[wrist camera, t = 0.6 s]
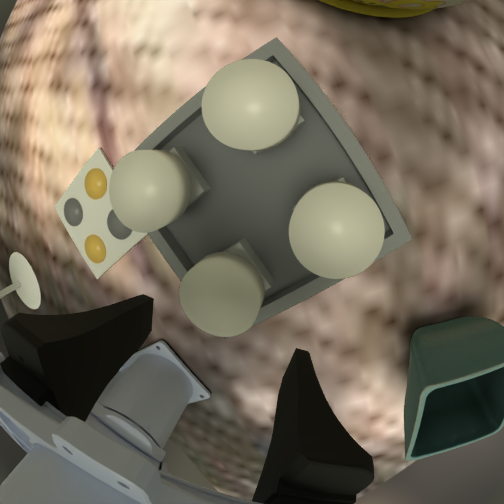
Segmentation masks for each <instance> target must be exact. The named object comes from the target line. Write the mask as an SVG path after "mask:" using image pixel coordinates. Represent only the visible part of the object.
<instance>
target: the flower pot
mask: <svg viewBox="0 0 504 504" xmlns="http://www.w3.org/2000/svg"><path fill="white" fill-rule="evenodd" d="M503 425H504V327H503V326H502V325H500V324H499V323H497V322H495V321H493V320H490V319H487V318H483V317H460V318H457V319H453V320H449V321H445V322H442V323H437V324H433V325H428V326H424V327H420V328H418V329H416V331H415V332H414V334H413V336H412V338H411V344H410V359H409V371H408V381H407V389H406V396H405V404H404V431H405V460H406V461H411V460H416V459H421V458H425V457H429V456H432V455H435V454H439V453H442V452H445V451H449V450H452V449H455V448H458V447H460V446H464V445H467V444H470V443H473V442H475V441H478V440H481V439H483V438H486V437H488V436H491V435H493V434H495V433H497V432H498V431H500V430H501V428H502V427H503Z"/></svg>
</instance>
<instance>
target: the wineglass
mask: <svg viewBox="0 0 504 504" xmlns="http://www.w3.org/2000/svg"><path fill="white" fill-rule="evenodd" d="M9 271H10V276H11V280H12V283H13V284H12V285H10V286H8V287H6V288H4V289H3V290H1V291H0V298H2V297H3V296H5V295H7V294H9V293H10V292H12V291H14V290H16V292H17V294H18V295H19V297H20V298H21V300H22V301H23V302H24V303H25V304H26V305H27V306H28V307H30V308H31V309H37V308H39V306H40V303H41V294H40V289H39V285H38V282H37V279H36V276H35V274H34V272H33V270H32V267H31V266H30V264H29V263H28V261H27V260H26V259H25V258H24V256H23V255H22V254H20V253H18V252H14V253H12V255H11V256H10V260H9Z"/></svg>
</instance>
